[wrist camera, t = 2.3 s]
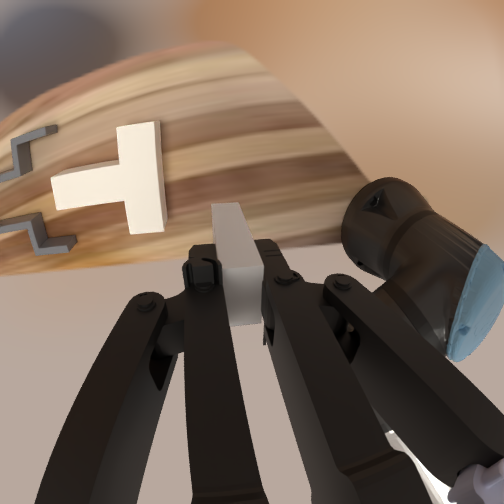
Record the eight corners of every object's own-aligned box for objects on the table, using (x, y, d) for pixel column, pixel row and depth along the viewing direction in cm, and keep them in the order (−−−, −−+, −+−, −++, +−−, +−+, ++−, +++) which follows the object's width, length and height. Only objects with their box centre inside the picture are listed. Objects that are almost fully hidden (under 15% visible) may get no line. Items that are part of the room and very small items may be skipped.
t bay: (56, 124, 23) (45, 126, 21) (77, 241, 31) (68, 252, 29) (-18, 153, 21) (-30, 158, 18) (4, 250, 29) (-5, 260, 26)
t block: (160, 120, 27) (154, 121, 23) (167, 217, 32) (163, 231, 29) (61, 138, 25) (46, 143, 21) (76, 227, 30) (65, 241, 27)
